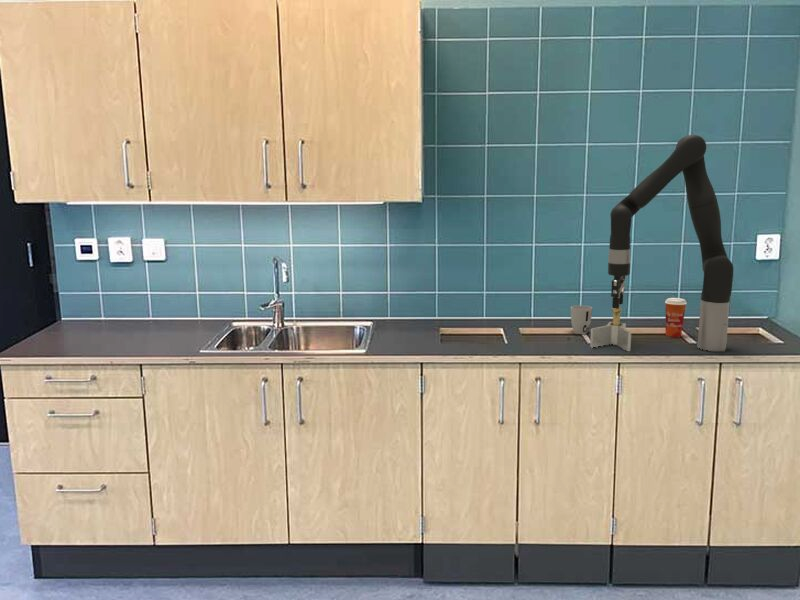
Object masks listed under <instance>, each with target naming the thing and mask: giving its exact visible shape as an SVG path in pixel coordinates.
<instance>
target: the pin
mask: <svg viewBox="0 0 800 600" xmlns="http://www.w3.org/2000/svg"><path fill="white" fill-rule="evenodd" d="M622 308H623V307H620V306H619V308H618V309H616V308H612V307H611V311H612V312H613V313H612V322H613V325H617V326H620V323H621V321H620V320H621V312H622V311H623V310H622Z"/></svg>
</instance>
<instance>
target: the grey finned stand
mask: <svg viewBox="0 0 800 600" xmlns="http://www.w3.org/2000/svg"><path fill="white" fill-rule="evenodd" d="M626 327H627V323H625V322H620V326H617V325H613V321H609V322H608V323H607V324H606V325H602V326H597V327H593V328H590V340H589V341H590V342H589V348H590V347H591V348H590V349H594V348H593V347H596V348H599V347H598V346H601V347H604V346H603V345H606V346H609V344H610V345H611V344H613V345H614V346H618V347H619V348H621V349H622V350H624V351H625V350H626V351H630V352H631V346H632V345H631V344H632V331H630V330H628V329H626ZM613 345H612V346H613ZM626 351H625V352H626Z"/></svg>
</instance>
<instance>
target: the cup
mask: <svg viewBox="0 0 800 600" xmlns="http://www.w3.org/2000/svg"><path fill="white" fill-rule="evenodd" d="M592 314H593V307H592V306H589V305H583V304H582V305H581V304H579V305H572V306H570V321H571V326H572V327H571V328H572V332H573V333H574V334H577V335H586V334H585V333H587V334H588V332H589V329H590V327H591V322H592V317H593V315H592Z"/></svg>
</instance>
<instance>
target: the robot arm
mask: <svg viewBox="0 0 800 600" xmlns="http://www.w3.org/2000/svg"><path fill="white" fill-rule="evenodd" d="M706 151H707V143H706V141H705V139H704V138H703V137H702V136H700V135H698V134H688V135H684V136H683V137H681V138H680V139H679V141H677V144H676V145H675V149H674V150H673V152H672V153H671V154H670V155H669V156H668V157H667V159H666V160H665V161H664V162H663V163H662V164H661V165H659V166H658V167H657V168H656V169H655V170H654V171H652V172H650V174H649V175H647V176H646V177H645V178H644V179H643V180H642V181H641V182H639V184H637V186H635V188H634V189H632V190H631V192H630V193H629V194H628V195H627V196H626V197H624V198H623V199H622V200H621V201H620V202H618V203H617V204H616V205H615V206H614V207H613V208H612V209H611V211H610V214H609V216H610V237H609V250H608V255H607V256H608V257H607V258H608V259H607V260H608V261H607V262H608V264H607V274H608V275H609V276H613V279H612V280H611V293H610V296H611V297H610V298H612V307H611V309H612V308H616V309H618V308H619V307H620V305H623V304H624V294H625V290H626V277H627V276H629V275H630V274H631V273H630V272H631V228H632V227H631V226H632V218H633V217H634V216H635V215H636V214H637V212H639V211H640V210H641V209H643V208H644V207H645V206H647V205H649V203H650V202H652V200H654V198H656V197H657V195H659V194H660V192H662V190H664V189H665V187H667V185H668V184H670V182H672V181H673V179H675V178H676V177H677V176H678V175H679V174H681V173H682V175H683V179H684V182H685V192H686V193H685V194H686V199H687V204H688V205H687V206H688V210H689V214H690V219H691V222H692V225H693V228H694V232H695V234H696V237H697V240H698V243H699V247H700V255H701V262H702V263H701V264H702V267H701V268H702V272H703V280H702V281H703V283H702V289H701V294H700V295H701V296H700V308H699V318H698V319H699V320H698V321H699V322H698V332H697V333H698V334H697V346H696V347H697V349H699V348H700V349H699V350H702V349H703V351H706V350H708V351H707V352H726V351H725V350H727V340H728V327H729V313H730V301H731V295H732V291H733V290H732V289H733V279H734V265H733V263H732V260H730V259H729V257H728V254H727V253H726V250H725V246H724V245H725V244H724V242H723V239H722V220H721V211H720V207H719V206H720V205H719V203H718V198H717V195H716V193H715V189H714V187H713V185H712V183H711V181H710V178H709V176H708V173H707V169H706V162H705V154H706Z"/></svg>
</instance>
